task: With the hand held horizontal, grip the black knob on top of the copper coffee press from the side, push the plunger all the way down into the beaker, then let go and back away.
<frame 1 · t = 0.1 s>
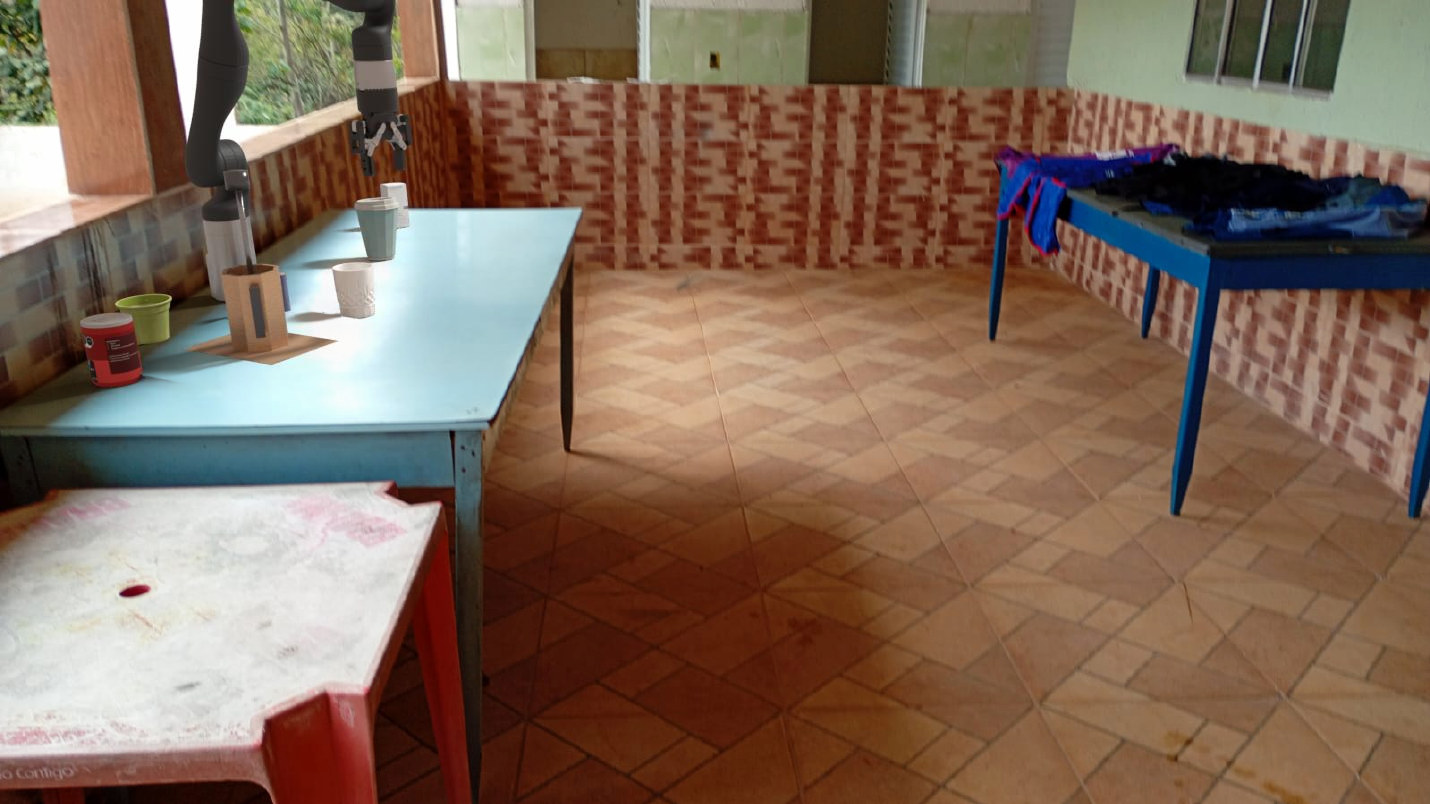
hand: (385, 173, 218), 29 cm above the table, tool pointing down, fingers open, 8 cm apart
plunger: (245, 236, 201), point 21 cm above the table, slide at 0.0 cm
plant pot: (151, 346, 213), on the table
disposable coffee cup: (382, 258, 282), on the table
press beaker: (261, 344, 208), resting on walnut board
skincare box: (397, 227, 320), on the table
grey and blue model: (270, 316, 232), on the table
canned food: (118, 382, 193), on the table
walnut board: (262, 351, 209), on the table
white cup: (358, 315, 232), on the table
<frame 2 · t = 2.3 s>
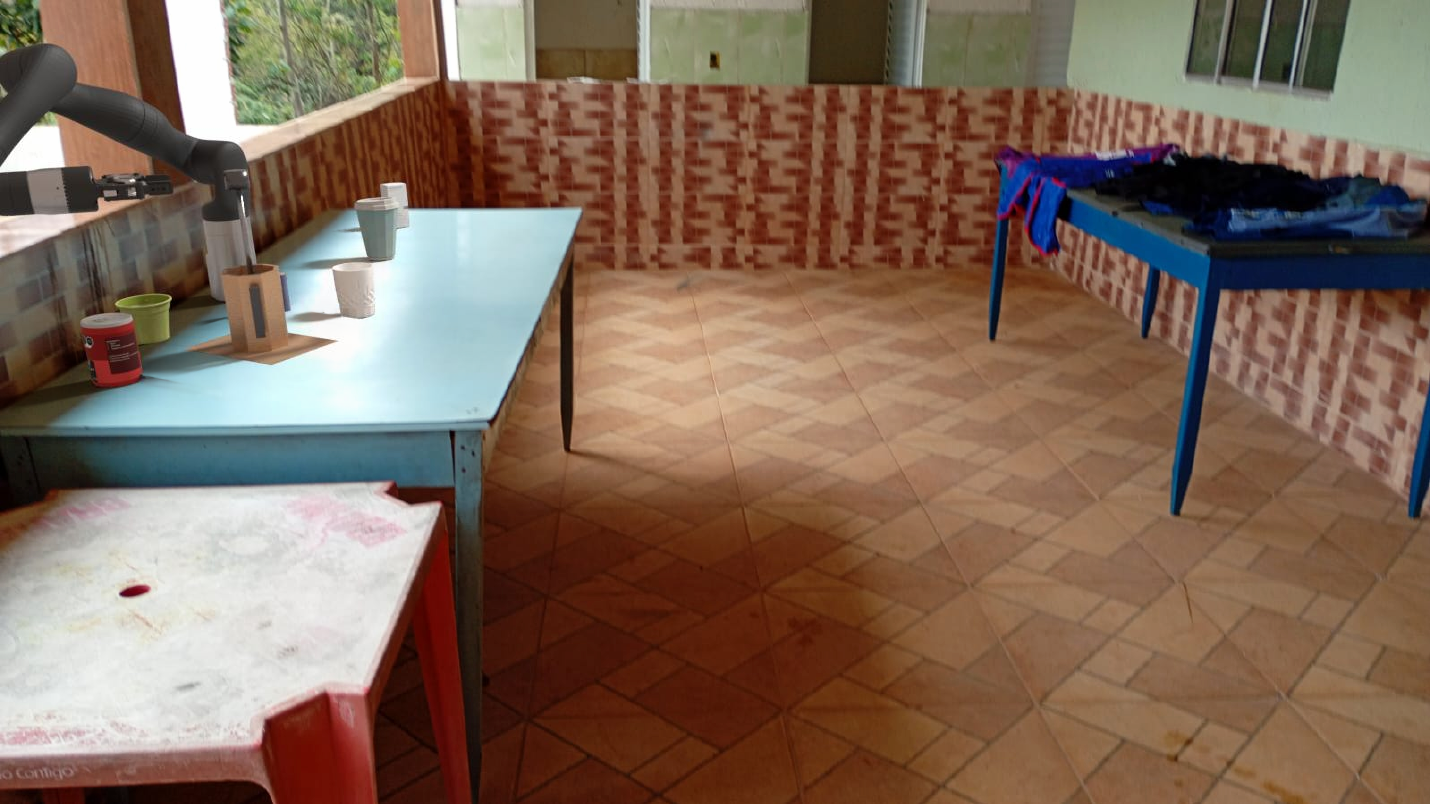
hand: (171, 183, 193), 31 cm above the table, tool horizontal, fingers open, 8 cm apart
nothing on the table moved.
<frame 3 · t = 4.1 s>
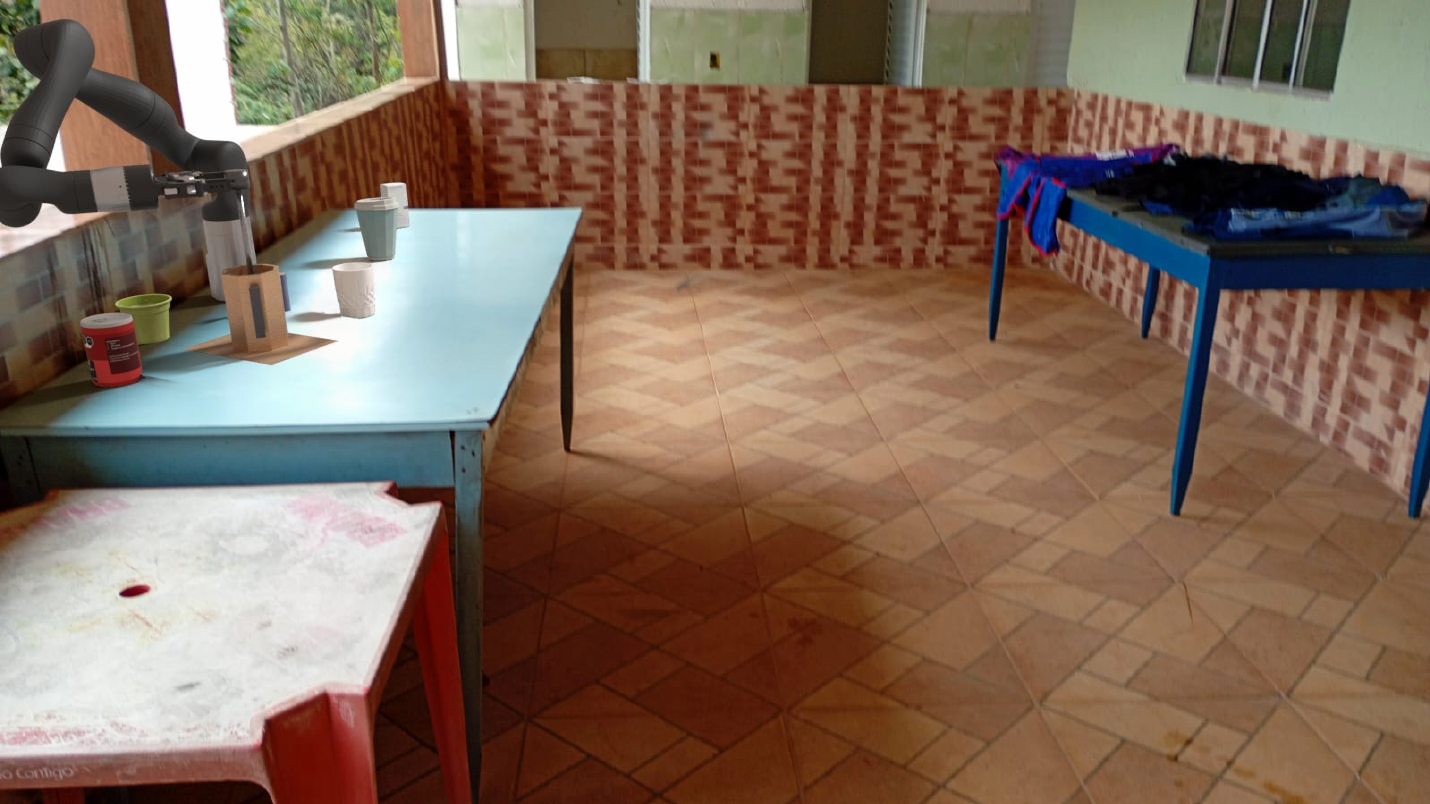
hand: (228, 181, 197), 31 cm above the table, tool horizontal, fingers open, 8 cm apart
nothing on the table moved.
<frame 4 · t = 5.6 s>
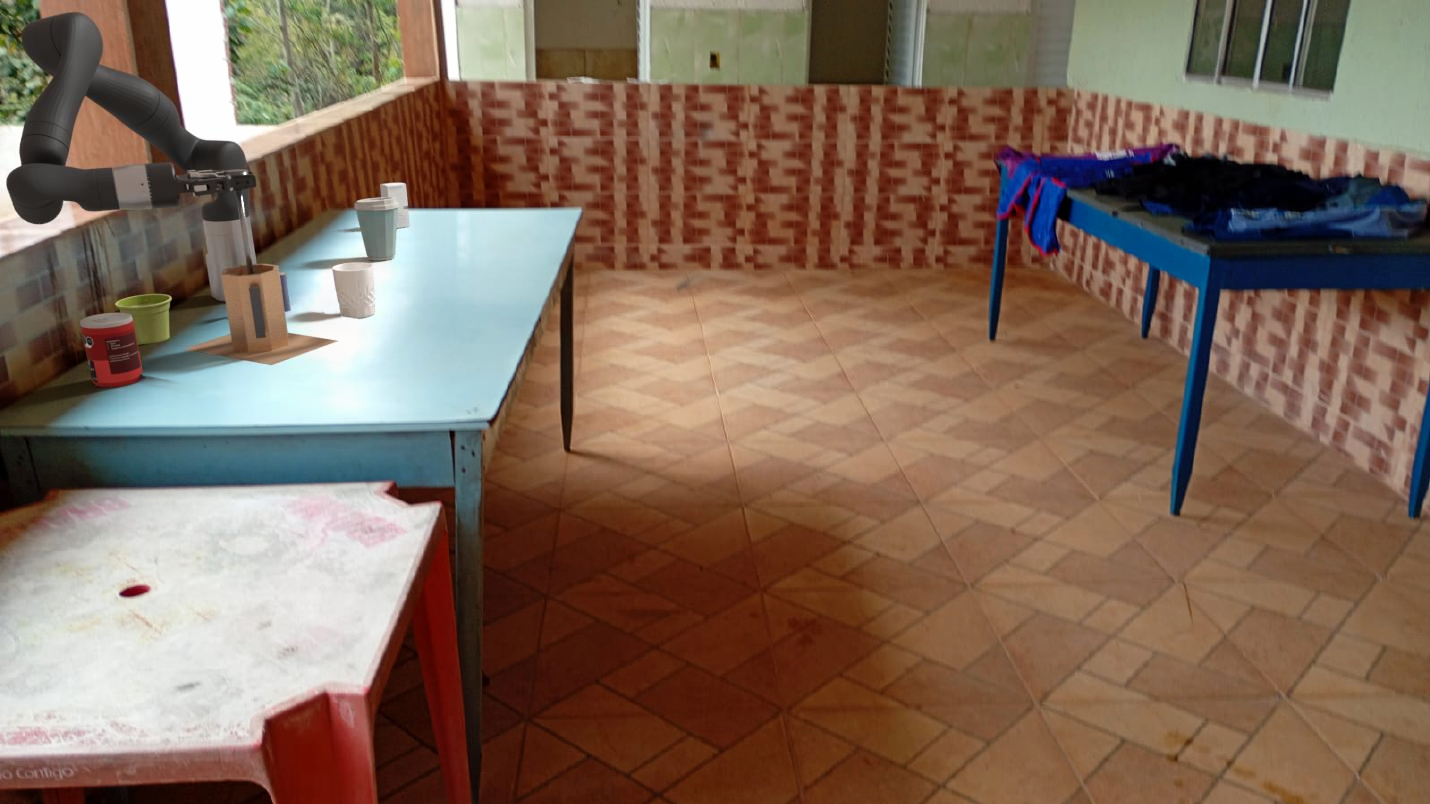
hand: (253, 178, 199), 31 cm above the table, tool horizontal, fingers closed on plunger, 4 cm apart
plunger: (245, 236, 201), point 21 cm above the table, slide at 0.0 cm, touching gripper
everything else where it was.
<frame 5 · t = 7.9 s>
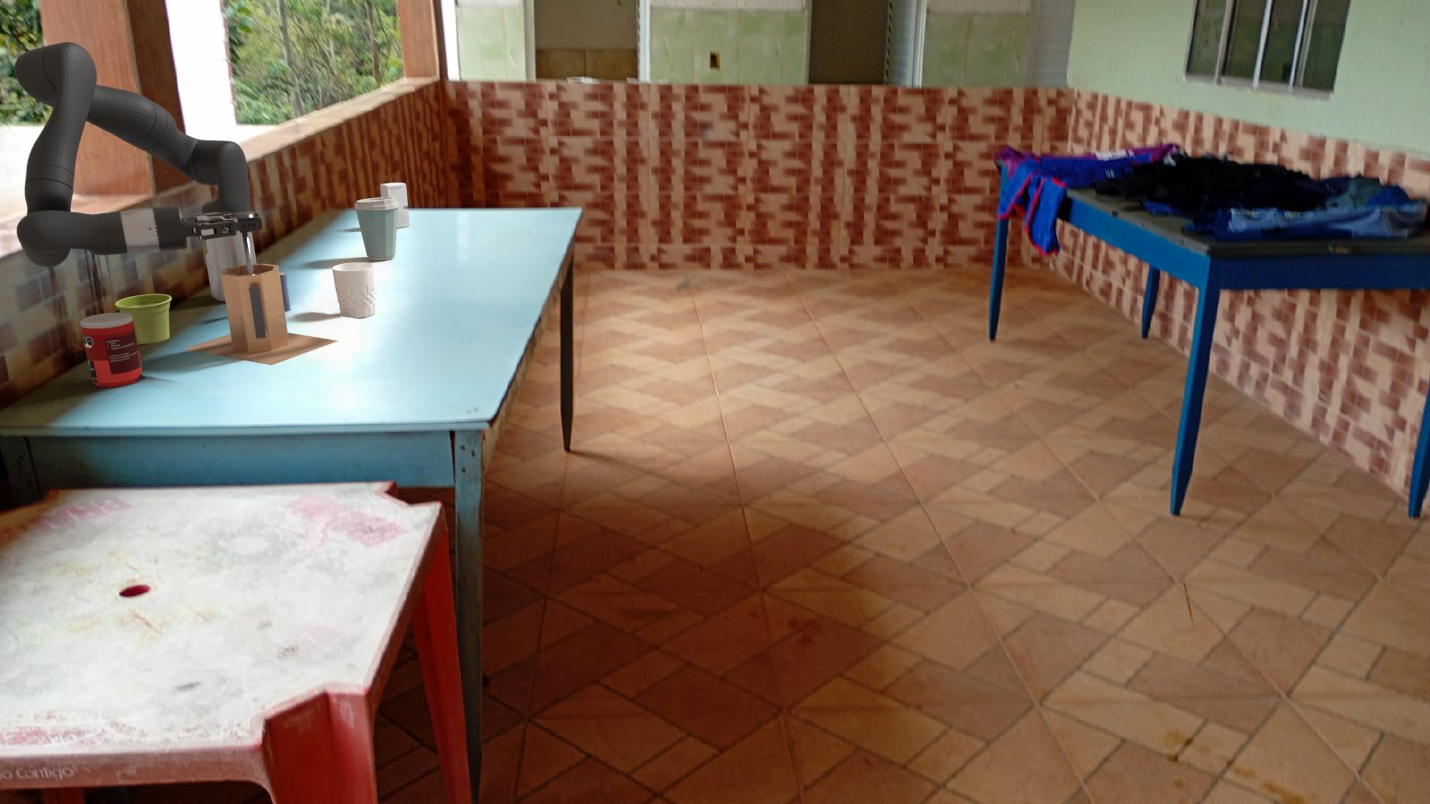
hand: (259, 221, 202), 24 cm above the table, tool horizontal, fingers closed on plunger, 4 cm apart
plunger: (251, 276, 204), point 14 cm above the table, slide at 7.4 cm, touching gripper
everything else where it was.
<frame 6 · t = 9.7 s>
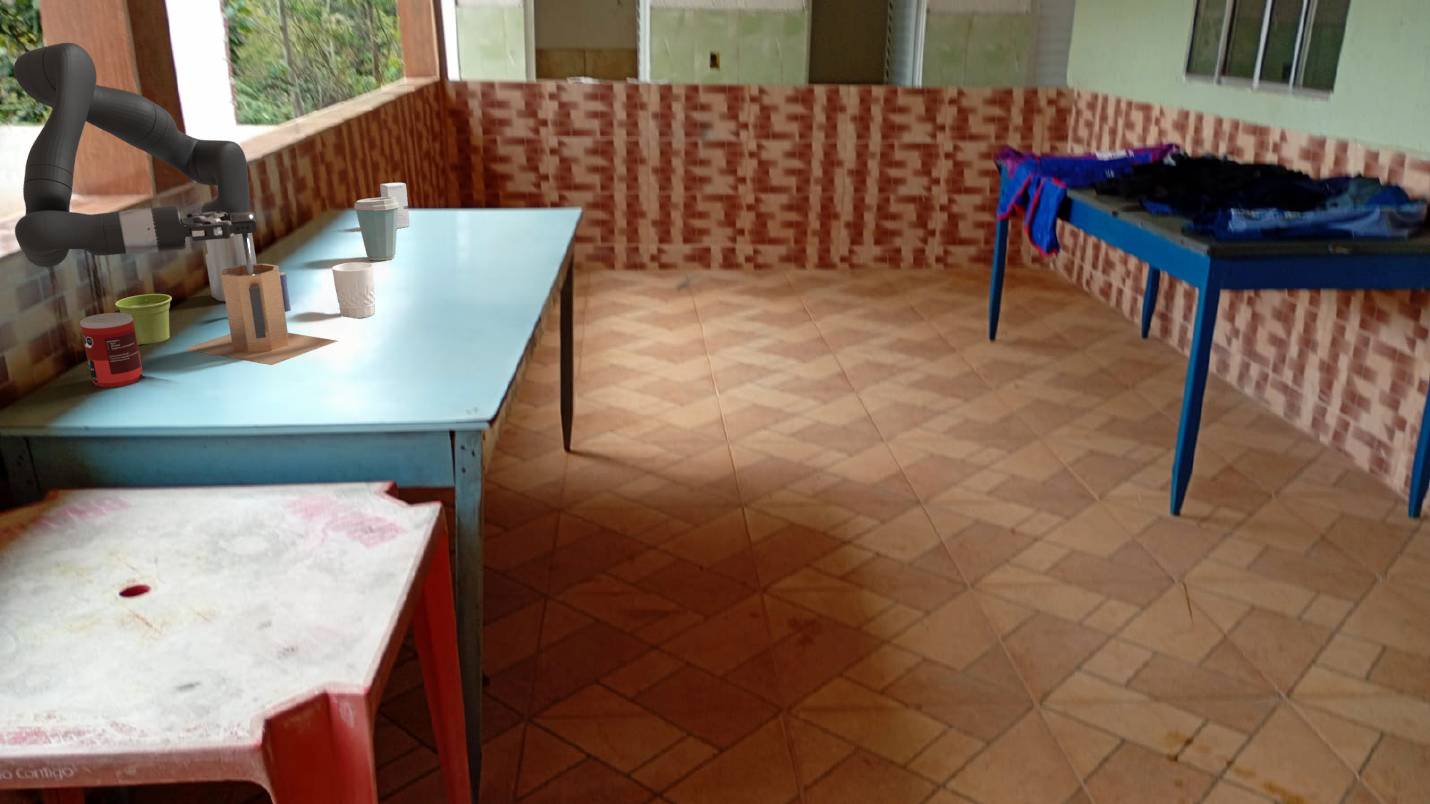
hand: (253, 221, 201), 24 cm above the table, tool horizontal, fingers open, 8 cm apart
plunger: (251, 277, 204), point 14 cm above the table, slide at 7.5 cm
everything else where it was.
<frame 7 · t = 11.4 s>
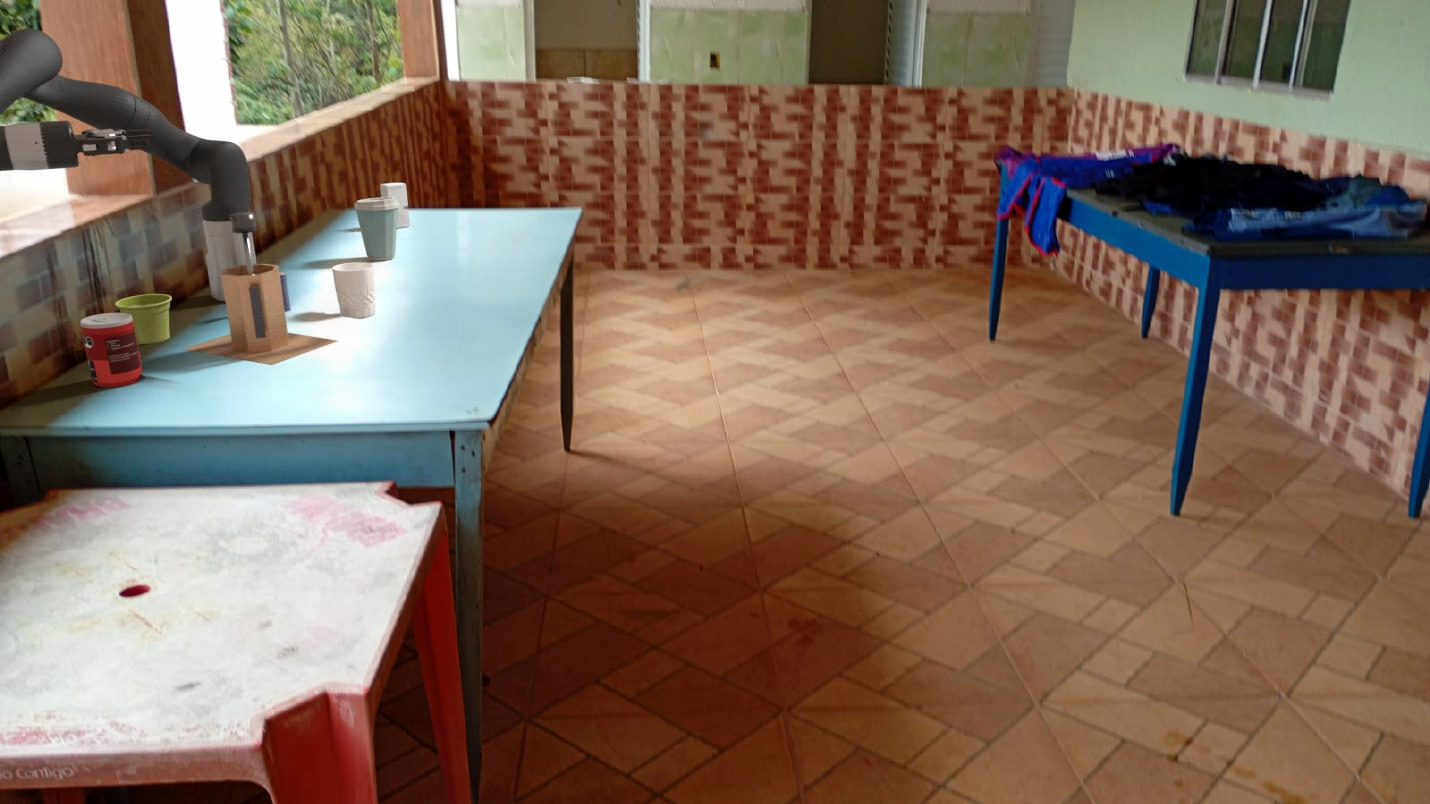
hand: (152, 138, 191), 39 cm above the table, tool horizontal, fingers open, 8 cm apart
nothing on the table moved.
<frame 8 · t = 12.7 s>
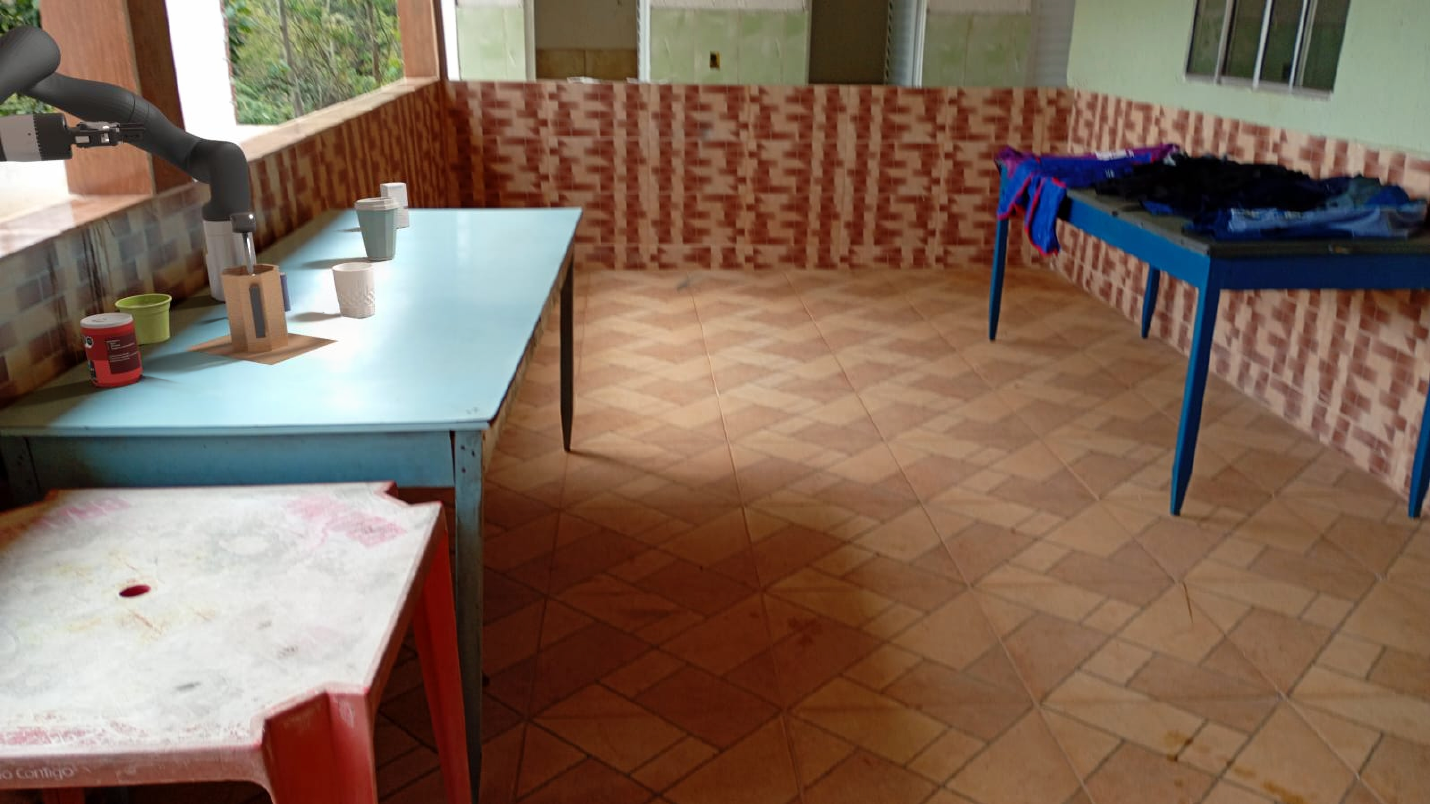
hand: (146, 131, 191), 40 cm above the table, tool horizontal, fingers open, 8 cm apart
nothing on the table moved.
at the end: plunger slide at 7.5 cm; the gripper is holding nothing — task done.
